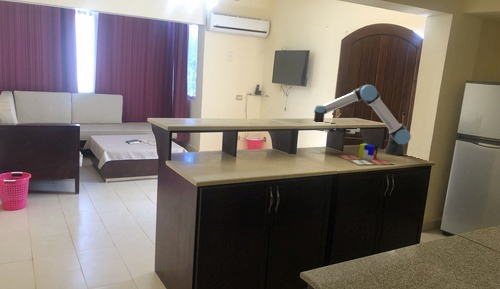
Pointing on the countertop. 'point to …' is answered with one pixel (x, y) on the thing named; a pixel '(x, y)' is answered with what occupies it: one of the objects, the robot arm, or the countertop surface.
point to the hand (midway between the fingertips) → (357, 131)
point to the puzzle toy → (368, 151)
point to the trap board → (364, 162)
